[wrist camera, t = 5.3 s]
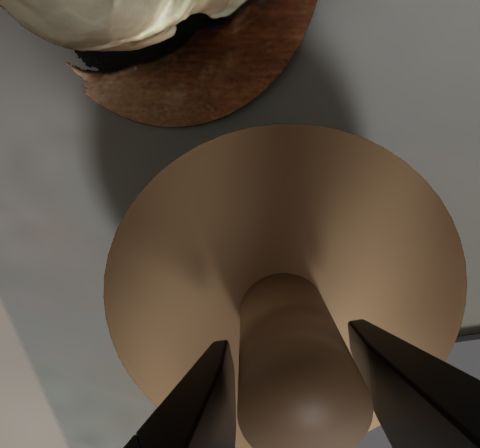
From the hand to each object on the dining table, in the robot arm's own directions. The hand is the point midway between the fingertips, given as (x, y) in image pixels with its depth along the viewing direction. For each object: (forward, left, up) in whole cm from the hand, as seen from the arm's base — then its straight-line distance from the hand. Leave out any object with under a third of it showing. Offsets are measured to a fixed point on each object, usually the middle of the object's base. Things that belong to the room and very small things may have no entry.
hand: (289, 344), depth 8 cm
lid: (0, 0, -2) cm, 2 cm away
